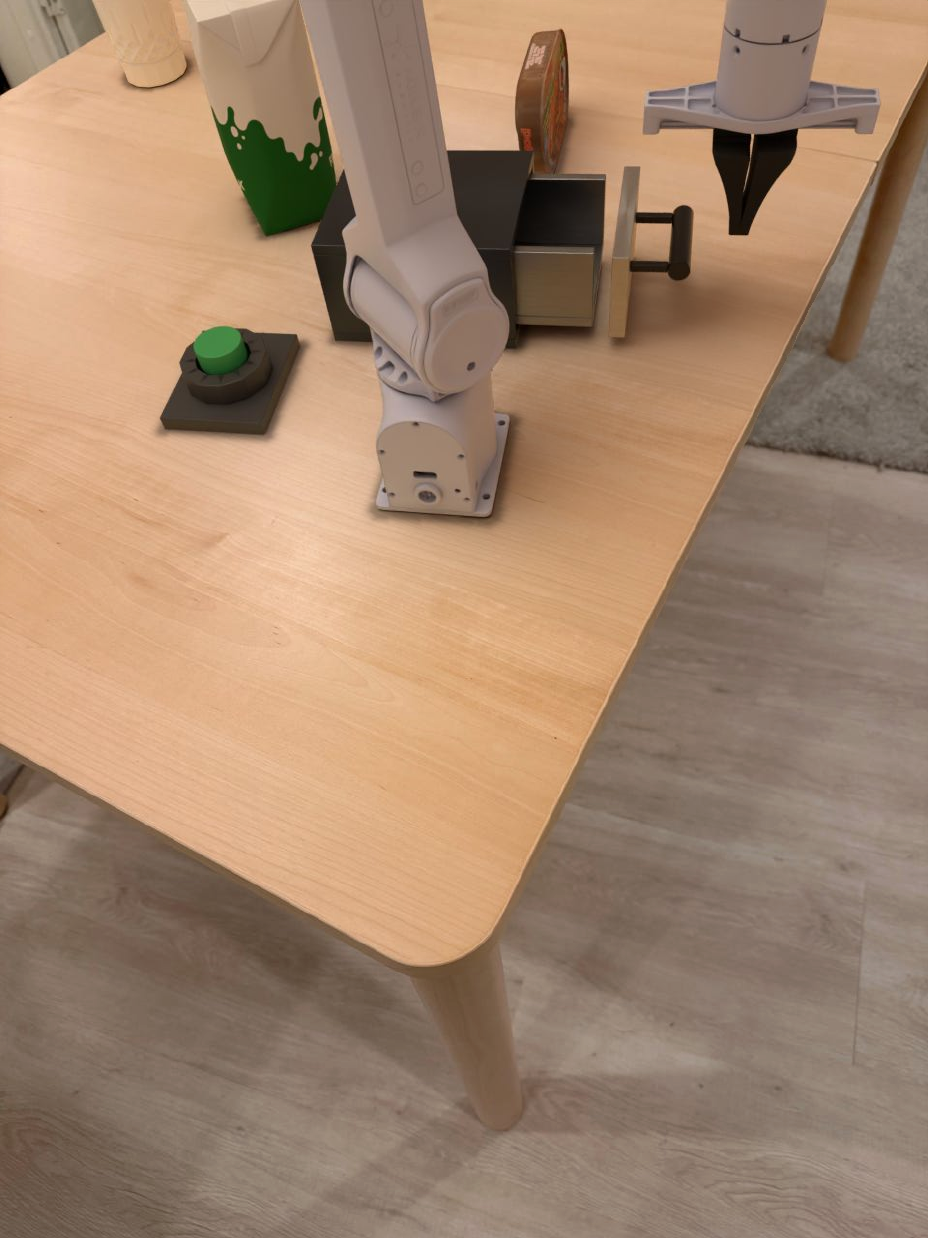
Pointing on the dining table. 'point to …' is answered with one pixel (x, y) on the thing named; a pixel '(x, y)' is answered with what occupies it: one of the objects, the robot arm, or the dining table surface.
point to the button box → (233, 388)
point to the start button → (220, 350)
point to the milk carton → (266, 106)
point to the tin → (543, 99)
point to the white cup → (143, 39)
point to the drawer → (585, 249)
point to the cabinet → (484, 207)
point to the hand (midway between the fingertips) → (738, 227)
